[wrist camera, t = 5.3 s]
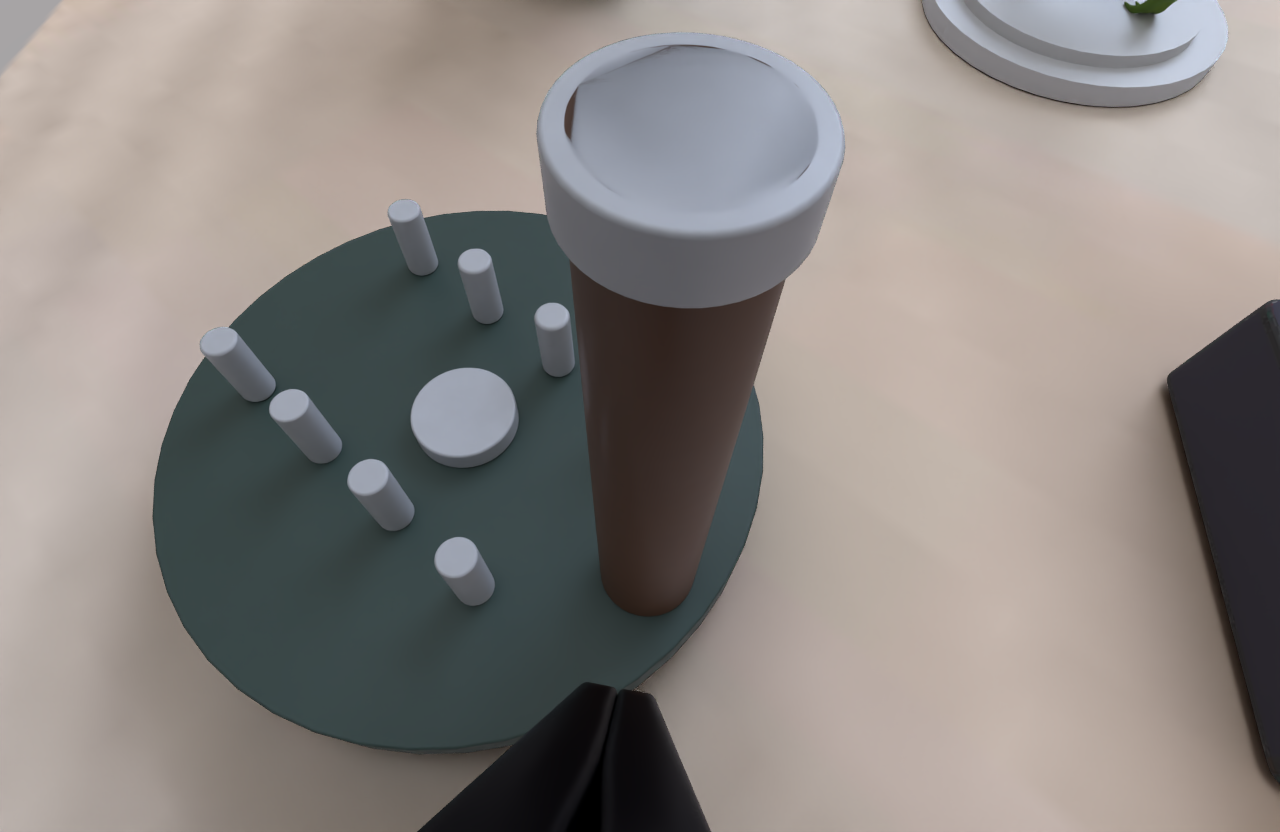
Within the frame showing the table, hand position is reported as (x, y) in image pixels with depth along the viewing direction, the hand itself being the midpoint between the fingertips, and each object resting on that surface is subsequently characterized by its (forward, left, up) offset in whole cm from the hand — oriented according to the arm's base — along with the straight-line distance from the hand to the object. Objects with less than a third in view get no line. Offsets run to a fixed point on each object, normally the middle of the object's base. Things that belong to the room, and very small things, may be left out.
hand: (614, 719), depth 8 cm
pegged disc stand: (+2, +8, -6) cm, 10 cm away
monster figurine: (+33, +9, -8) cm, 35 cm away
